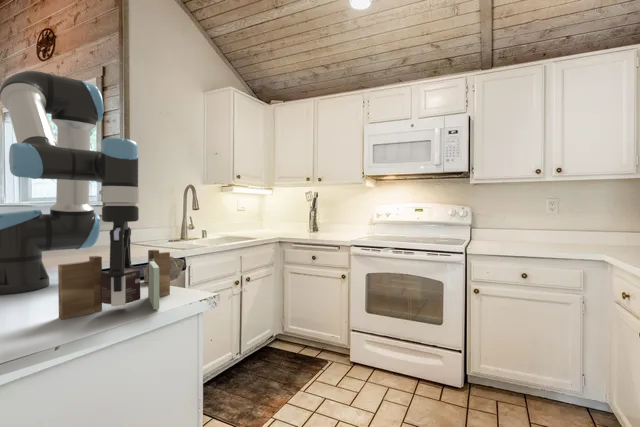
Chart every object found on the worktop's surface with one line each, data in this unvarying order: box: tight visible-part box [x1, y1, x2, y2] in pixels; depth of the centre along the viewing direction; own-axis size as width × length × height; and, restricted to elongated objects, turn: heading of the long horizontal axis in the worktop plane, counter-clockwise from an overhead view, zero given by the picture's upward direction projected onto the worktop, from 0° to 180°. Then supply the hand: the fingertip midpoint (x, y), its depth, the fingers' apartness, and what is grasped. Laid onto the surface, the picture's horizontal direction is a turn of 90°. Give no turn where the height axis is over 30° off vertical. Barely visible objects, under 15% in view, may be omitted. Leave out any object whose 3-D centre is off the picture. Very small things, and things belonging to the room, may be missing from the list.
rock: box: [143, 255, 185, 283], centre depth 115 cm, size 12×7×10 cm, turn 129°
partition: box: [57, 249, 171, 320], centre depth 87 cm, size 3×26×13 cm, turn 147°
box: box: [101, 268, 141, 305], centre depth 82 cm, size 6×6×7 cm
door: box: [148, 259, 160, 310], centre depth 88 cm, size 12×1×11 cm, turn 32°
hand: (121, 299), depth 82 cm, fingers closed on box, 8 cm apart
